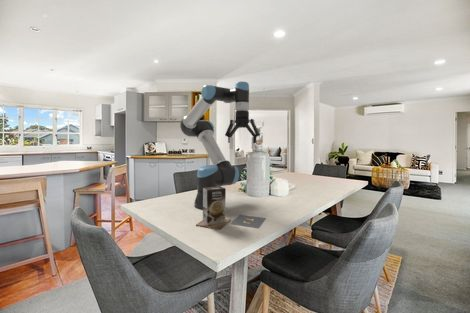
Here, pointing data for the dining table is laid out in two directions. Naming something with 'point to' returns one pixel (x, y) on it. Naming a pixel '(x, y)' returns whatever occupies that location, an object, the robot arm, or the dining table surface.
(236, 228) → the dining table surface
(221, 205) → the coffee box
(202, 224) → the walnut board
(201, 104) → the robot arm
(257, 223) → the mat
